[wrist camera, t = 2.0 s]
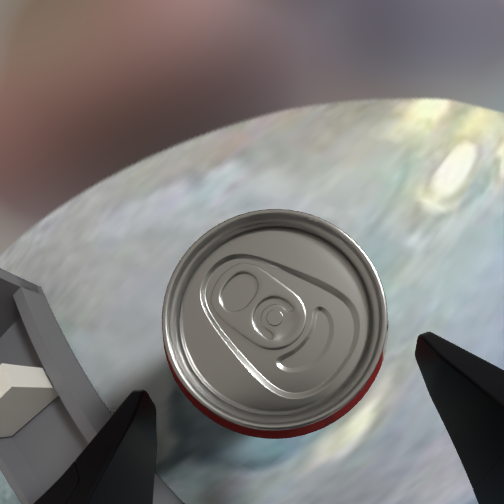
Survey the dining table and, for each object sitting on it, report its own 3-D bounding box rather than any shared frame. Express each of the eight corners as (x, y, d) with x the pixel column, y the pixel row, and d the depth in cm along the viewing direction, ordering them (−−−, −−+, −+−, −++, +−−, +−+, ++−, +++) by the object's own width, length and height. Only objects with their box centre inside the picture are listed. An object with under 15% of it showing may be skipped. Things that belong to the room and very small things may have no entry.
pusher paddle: (67, 387, 18) (-1, 385, 11) (11, 436, 16) (-50, 441, 10) (57, 369, 18) (-11, 361, 12) (3, 419, 17) (-58, 420, 11)
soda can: (287, 422, 17) (299, 503, 6) (198, 355, 19) (92, 333, 8) (355, 332, 19) (452, 281, 7) (266, 269, 20) (249, 148, 9)
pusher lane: (185, 505, 15) (153, 546, 10) (88, 550, 14) (48, 578, 8) (41, 287, 21) (-11, 262, 16) (-25, 359, 19) (-73, 349, 14)
